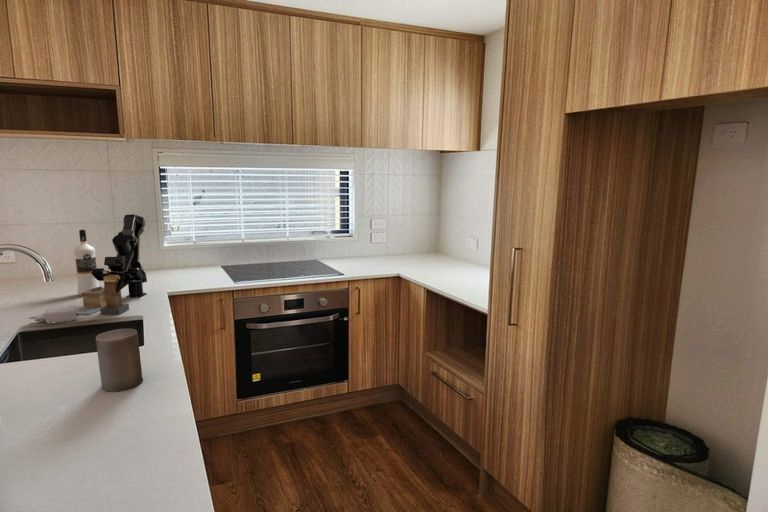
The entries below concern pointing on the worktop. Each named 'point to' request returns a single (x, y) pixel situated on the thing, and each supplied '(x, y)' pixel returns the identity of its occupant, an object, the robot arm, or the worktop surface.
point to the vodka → (85, 264)
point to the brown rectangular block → (112, 291)
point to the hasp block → (114, 310)
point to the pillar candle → (119, 359)
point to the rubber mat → (88, 310)
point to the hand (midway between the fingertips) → (111, 292)
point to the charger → (57, 314)
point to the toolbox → (94, 298)
